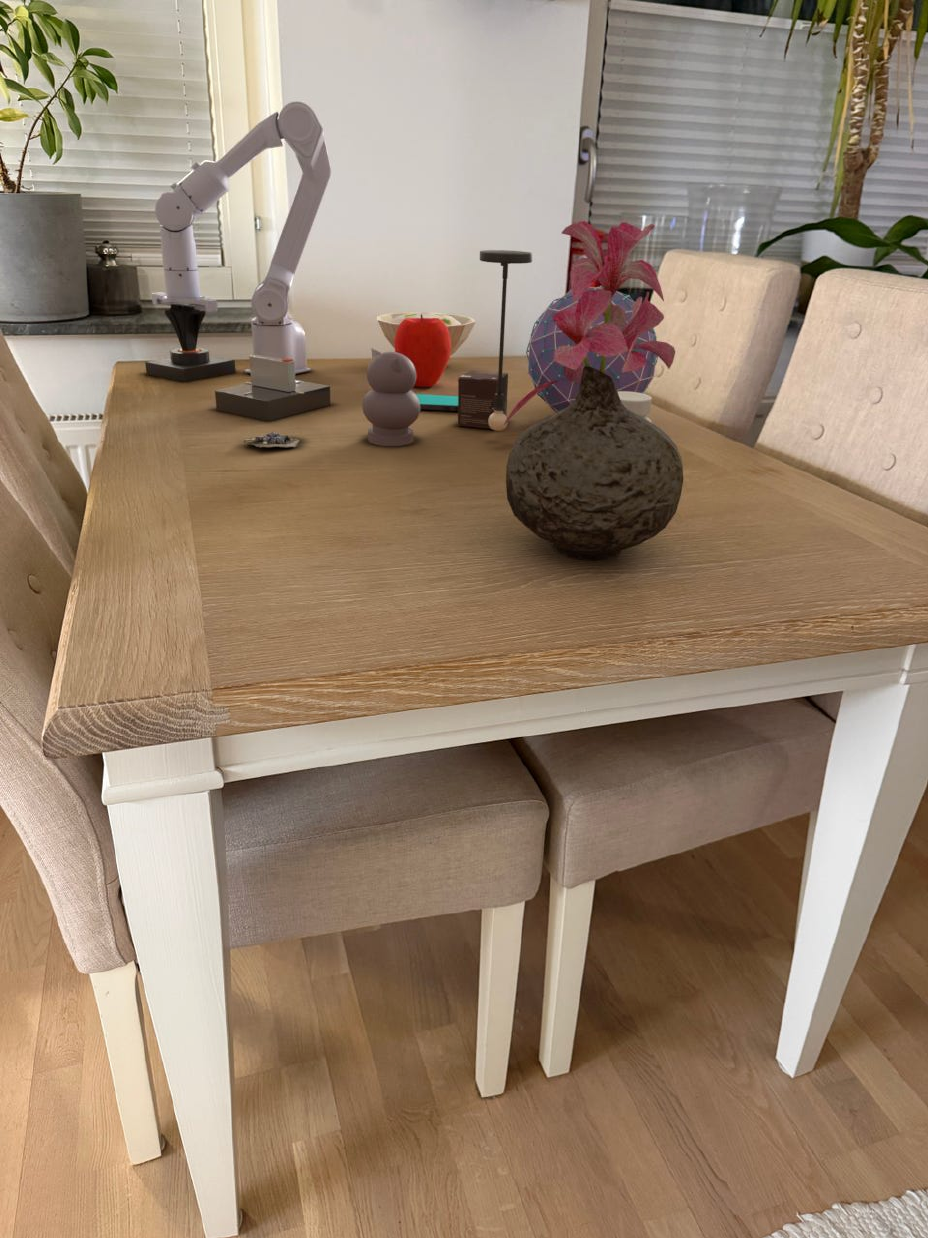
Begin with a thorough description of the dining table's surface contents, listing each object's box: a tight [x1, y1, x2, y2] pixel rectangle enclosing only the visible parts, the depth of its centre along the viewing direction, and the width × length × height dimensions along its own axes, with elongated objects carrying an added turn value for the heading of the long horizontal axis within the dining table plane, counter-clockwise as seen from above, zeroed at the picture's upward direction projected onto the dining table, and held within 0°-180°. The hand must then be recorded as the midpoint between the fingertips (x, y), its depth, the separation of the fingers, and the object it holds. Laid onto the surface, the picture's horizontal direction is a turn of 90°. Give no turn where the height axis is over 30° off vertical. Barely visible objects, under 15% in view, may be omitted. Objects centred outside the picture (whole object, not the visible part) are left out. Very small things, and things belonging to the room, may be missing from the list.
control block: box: [144, 347, 237, 383], centre depth 161 cm, size 12×10×4 cm
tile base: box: [214, 379, 331, 422], centre depth 139 cm, size 14×12×3 cm
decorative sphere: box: [525, 285, 659, 414], centre depth 135 cm, size 20×20×20 cm
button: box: [179, 349, 200, 353], centre depth 161 cm, size 4×4×2 cm
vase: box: [503, 220, 684, 561], centre depth 83 cm, size 17×17×30 cm
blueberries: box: [243, 431, 301, 449], centre depth 120 cm, size 7×8×2 cm
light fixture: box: [479, 249, 533, 432], centre depth 118 cm, size 7×7×25 cm
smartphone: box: [415, 393, 458, 412], centre depth 144 cm, size 7×1×15 cm
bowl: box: [376, 311, 476, 357], centre depth 172 cm, size 19×19×10 cm
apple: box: [394, 314, 451, 388], centre depth 156 cm, size 10×10×12 cm
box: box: [457, 369, 509, 430], centre depth 133 cm, size 6×6×7 cm
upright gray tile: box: [248, 354, 296, 392], centre depth 138 cm, size 8×2×5 cm, turn 57°
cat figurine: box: [362, 347, 422, 447], centre depth 122 cm, size 8×8×12 cm
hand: (189, 350), depth 160 cm, fingers closed, pressing on button
